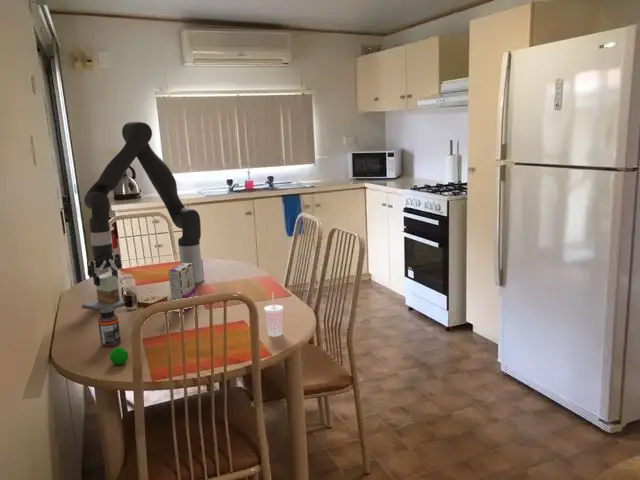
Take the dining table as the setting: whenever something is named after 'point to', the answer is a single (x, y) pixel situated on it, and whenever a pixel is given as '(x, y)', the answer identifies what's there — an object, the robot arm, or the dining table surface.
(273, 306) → the beverage cup
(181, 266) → the candy bar box
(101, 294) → the walnut brick
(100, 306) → the plate
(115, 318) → the supplement bottle
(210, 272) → the dining table surface
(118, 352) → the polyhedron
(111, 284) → the sage brick
